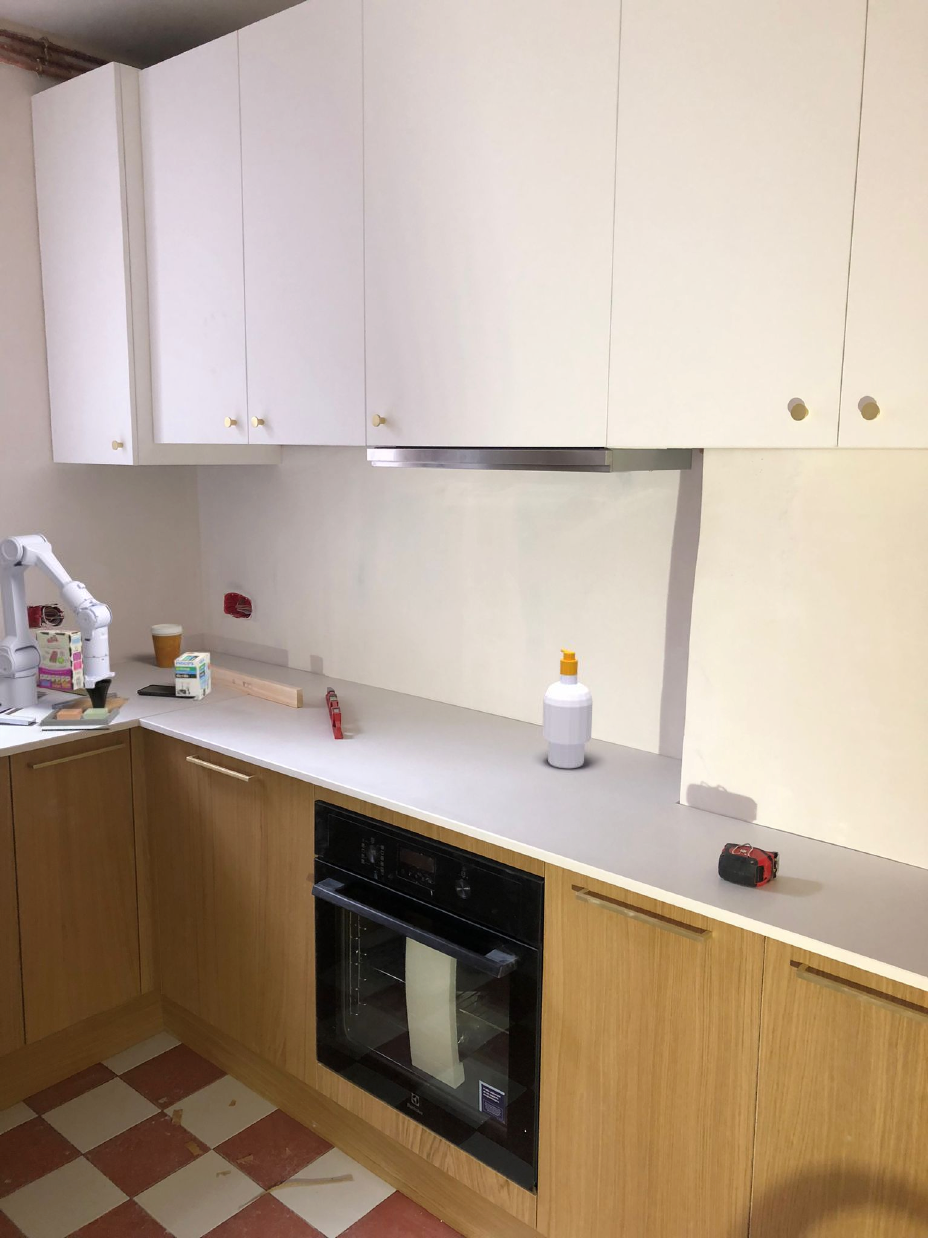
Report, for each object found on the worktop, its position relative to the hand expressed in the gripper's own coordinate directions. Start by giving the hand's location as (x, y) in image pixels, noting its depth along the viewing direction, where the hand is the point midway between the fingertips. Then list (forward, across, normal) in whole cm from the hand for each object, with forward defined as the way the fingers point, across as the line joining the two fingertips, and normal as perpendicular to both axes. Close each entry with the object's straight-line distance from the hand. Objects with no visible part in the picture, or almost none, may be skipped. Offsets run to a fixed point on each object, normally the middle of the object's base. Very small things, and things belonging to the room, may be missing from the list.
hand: (99, 710), depth 237 cm
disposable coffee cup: (+2, +59, -4) cm, 60 cm away
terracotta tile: (+2, -3, +6) cm, 7 cm away
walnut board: (+2, +8, +3) cm, 9 cm away
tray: (+2, -4, +3) cm, 5 cm away
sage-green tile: (+2, -3, 0) cm, 4 cm away
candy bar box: (+2, +29, +18) cm, 34 cm away
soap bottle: (+2, -41, -106) cm, 114 cm away
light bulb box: (+2, +22, -18) cm, 29 cm away
